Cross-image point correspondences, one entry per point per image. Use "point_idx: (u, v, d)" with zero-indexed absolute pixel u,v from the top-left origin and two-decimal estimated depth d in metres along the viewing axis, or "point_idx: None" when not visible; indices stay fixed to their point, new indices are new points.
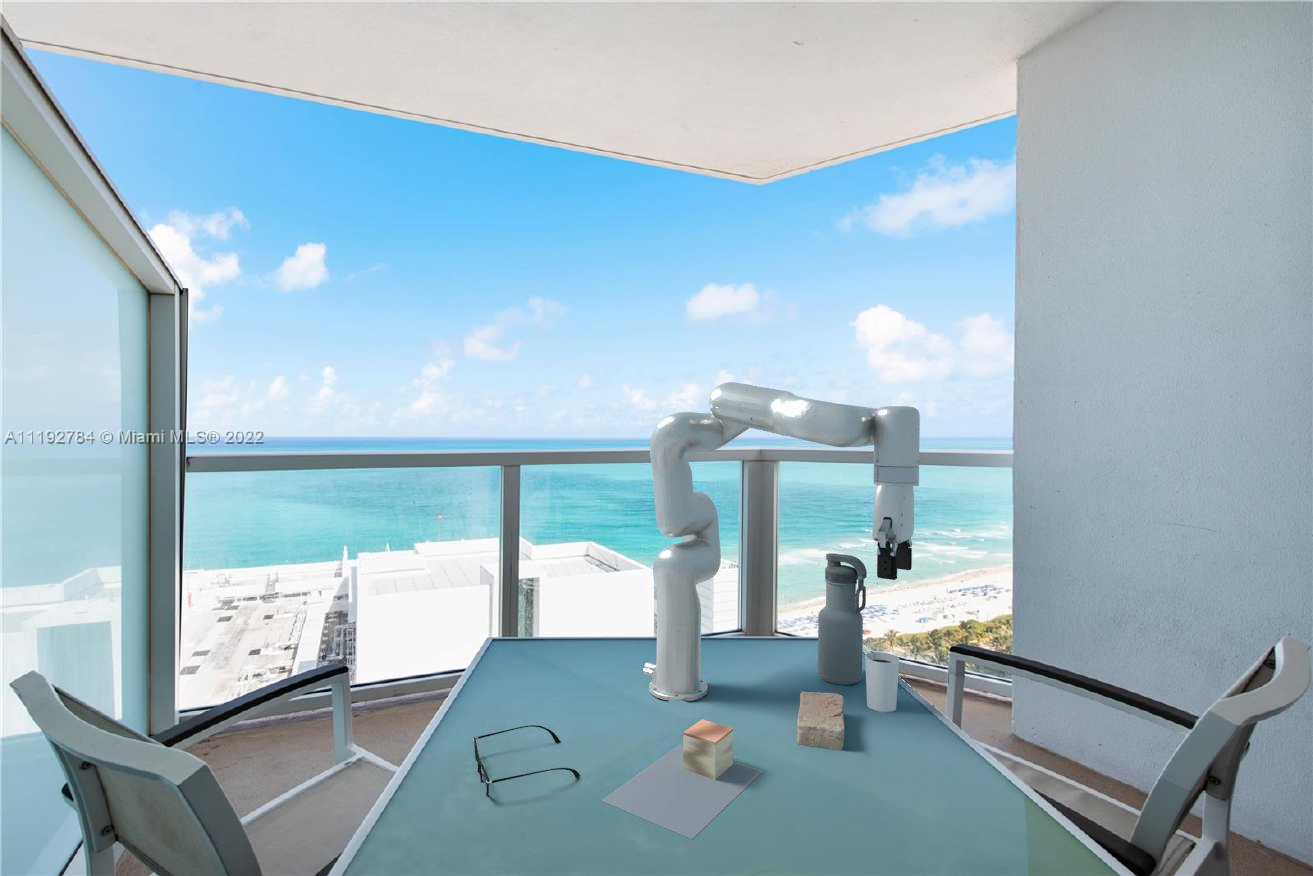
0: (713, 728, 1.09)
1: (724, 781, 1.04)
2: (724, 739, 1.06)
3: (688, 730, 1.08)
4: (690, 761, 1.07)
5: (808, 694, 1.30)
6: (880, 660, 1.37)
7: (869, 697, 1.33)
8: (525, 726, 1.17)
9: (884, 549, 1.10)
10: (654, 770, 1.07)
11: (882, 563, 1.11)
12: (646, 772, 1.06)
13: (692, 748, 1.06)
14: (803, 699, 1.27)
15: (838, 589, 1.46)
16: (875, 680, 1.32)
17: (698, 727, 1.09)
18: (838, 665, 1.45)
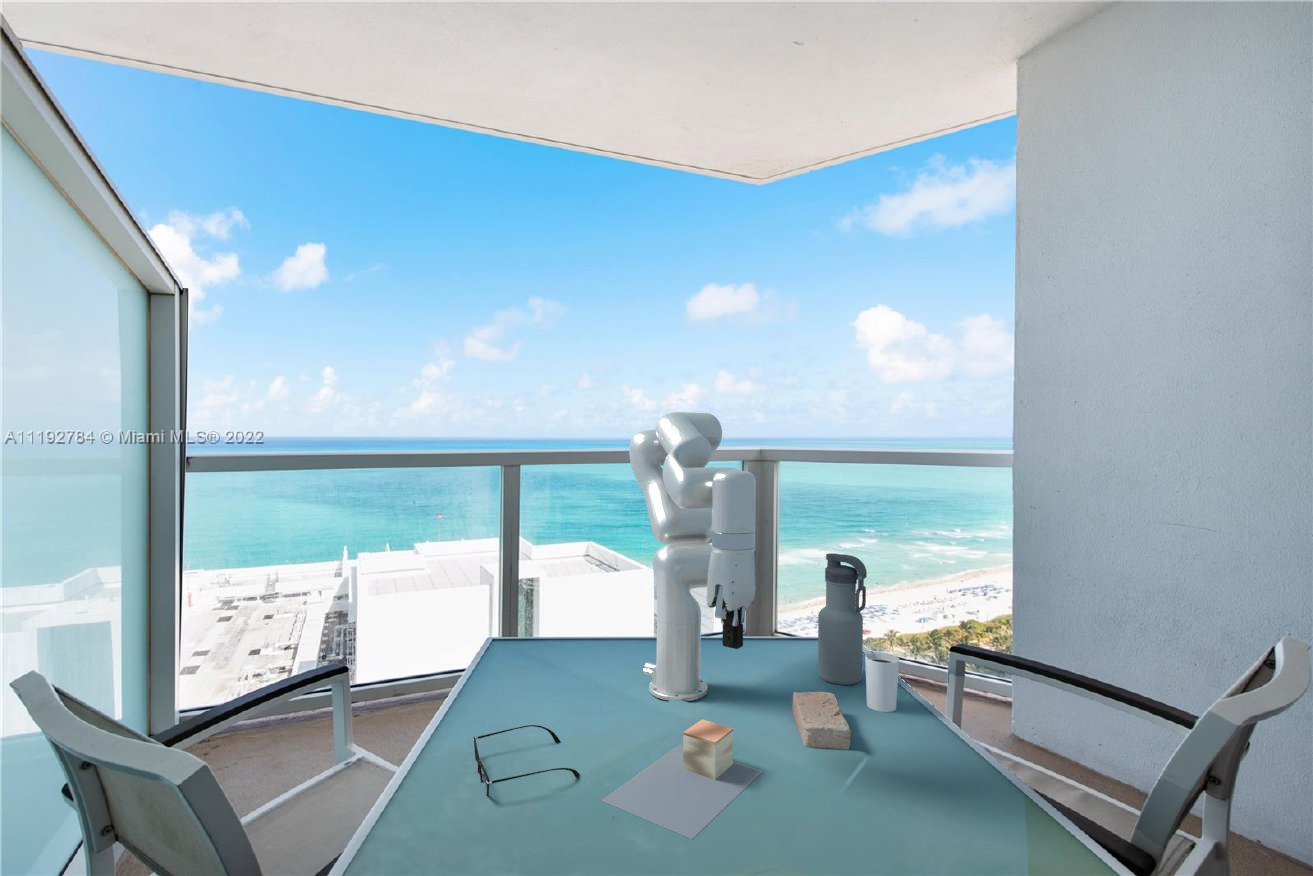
0: (713, 728, 1.09)
1: (724, 781, 1.04)
2: (724, 739, 1.06)
3: (688, 730, 1.08)
4: (690, 761, 1.07)
5: (801, 694, 1.30)
6: (880, 660, 1.37)
7: (869, 697, 1.33)
8: (525, 726, 1.16)
9: (726, 619, 1.12)
10: (654, 770, 1.07)
11: (726, 632, 1.13)
12: (646, 772, 1.06)
13: (692, 748, 1.06)
14: (799, 700, 1.27)
15: (838, 589, 1.46)
16: (875, 680, 1.32)
17: (698, 727, 1.09)
18: (838, 665, 1.45)
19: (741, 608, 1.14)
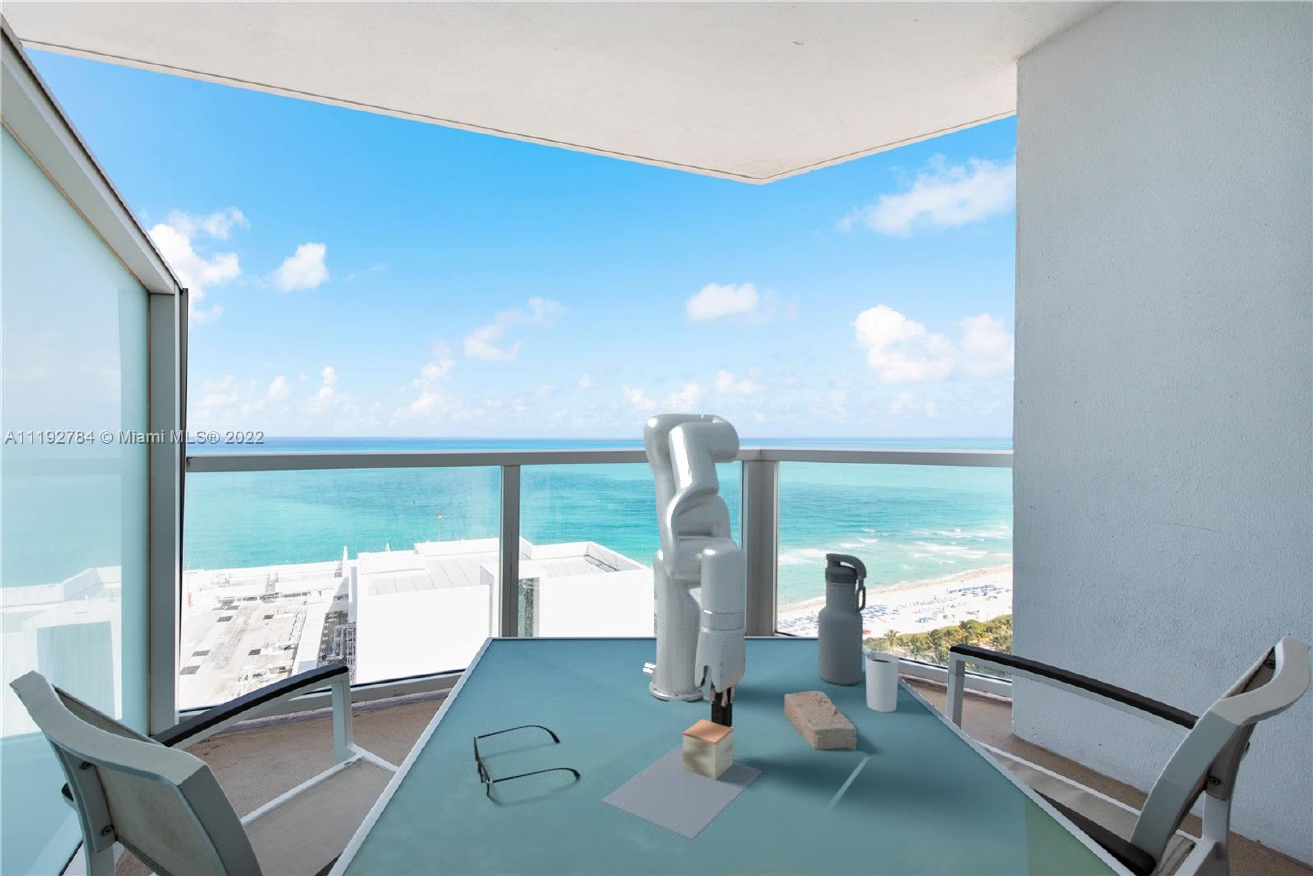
0: (713, 728, 1.09)
1: (724, 781, 1.04)
2: (724, 739, 1.06)
3: (688, 730, 1.08)
4: (690, 761, 1.07)
5: (794, 695, 1.29)
6: (880, 660, 1.37)
7: (869, 697, 1.33)
8: (525, 726, 1.16)
9: (715, 700, 1.10)
10: (654, 770, 1.07)
11: (714, 712, 1.11)
12: (646, 772, 1.06)
13: (692, 748, 1.06)
14: (795, 702, 1.26)
15: (838, 589, 1.46)
16: (875, 680, 1.32)
17: (698, 727, 1.09)
18: (838, 665, 1.45)
19: (730, 687, 1.12)
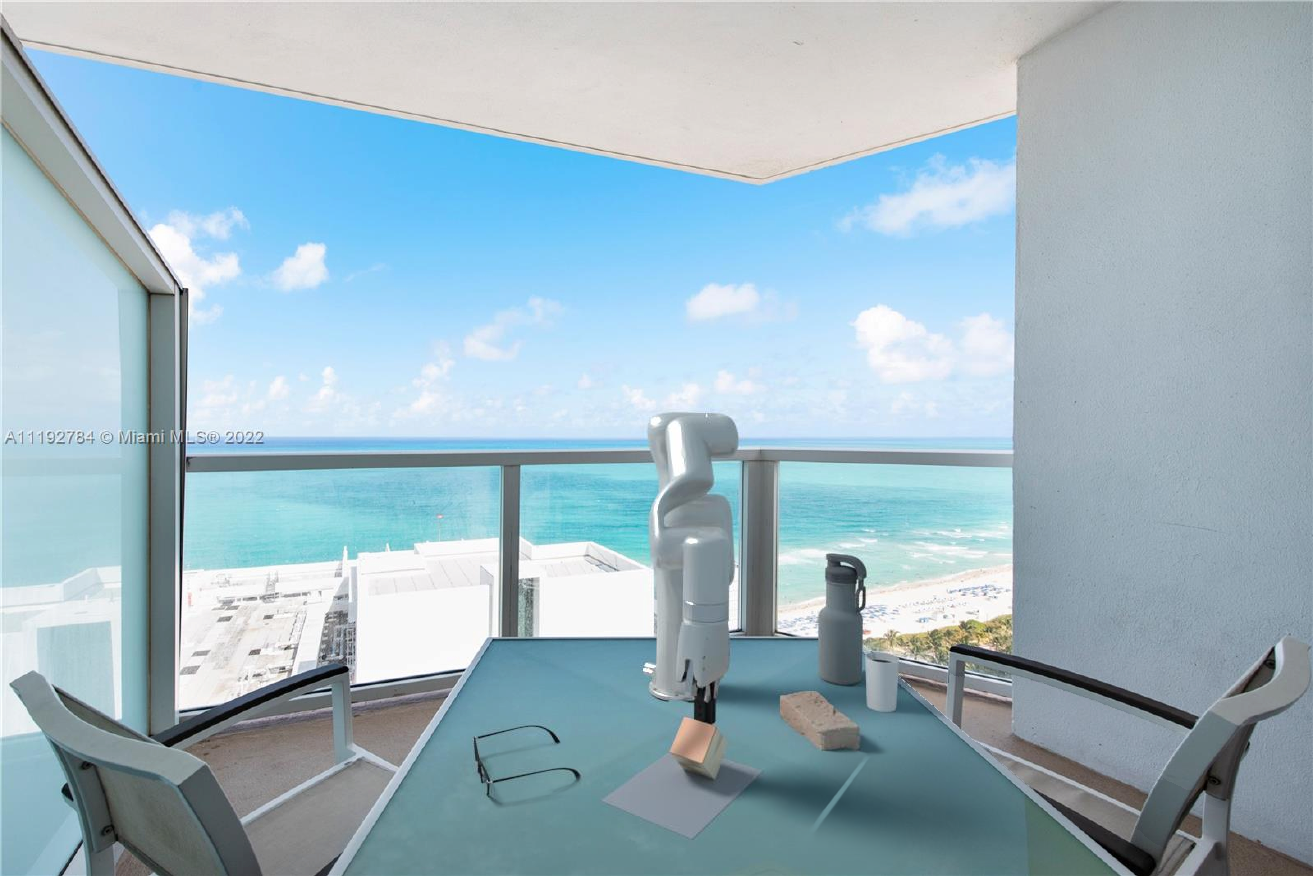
0: (697, 733, 1.04)
1: (724, 781, 1.04)
2: (710, 746, 1.03)
3: (673, 746, 1.04)
4: (686, 767, 1.06)
5: (789, 696, 1.28)
6: (880, 660, 1.37)
7: (869, 697, 1.33)
8: (525, 726, 1.16)
9: (697, 695, 1.05)
10: (654, 770, 1.07)
11: (697, 708, 1.06)
12: (646, 772, 1.06)
13: (683, 761, 1.04)
14: (793, 703, 1.25)
15: (838, 589, 1.46)
16: (875, 680, 1.32)
17: (682, 736, 1.05)
18: (838, 665, 1.45)
19: (714, 681, 1.07)
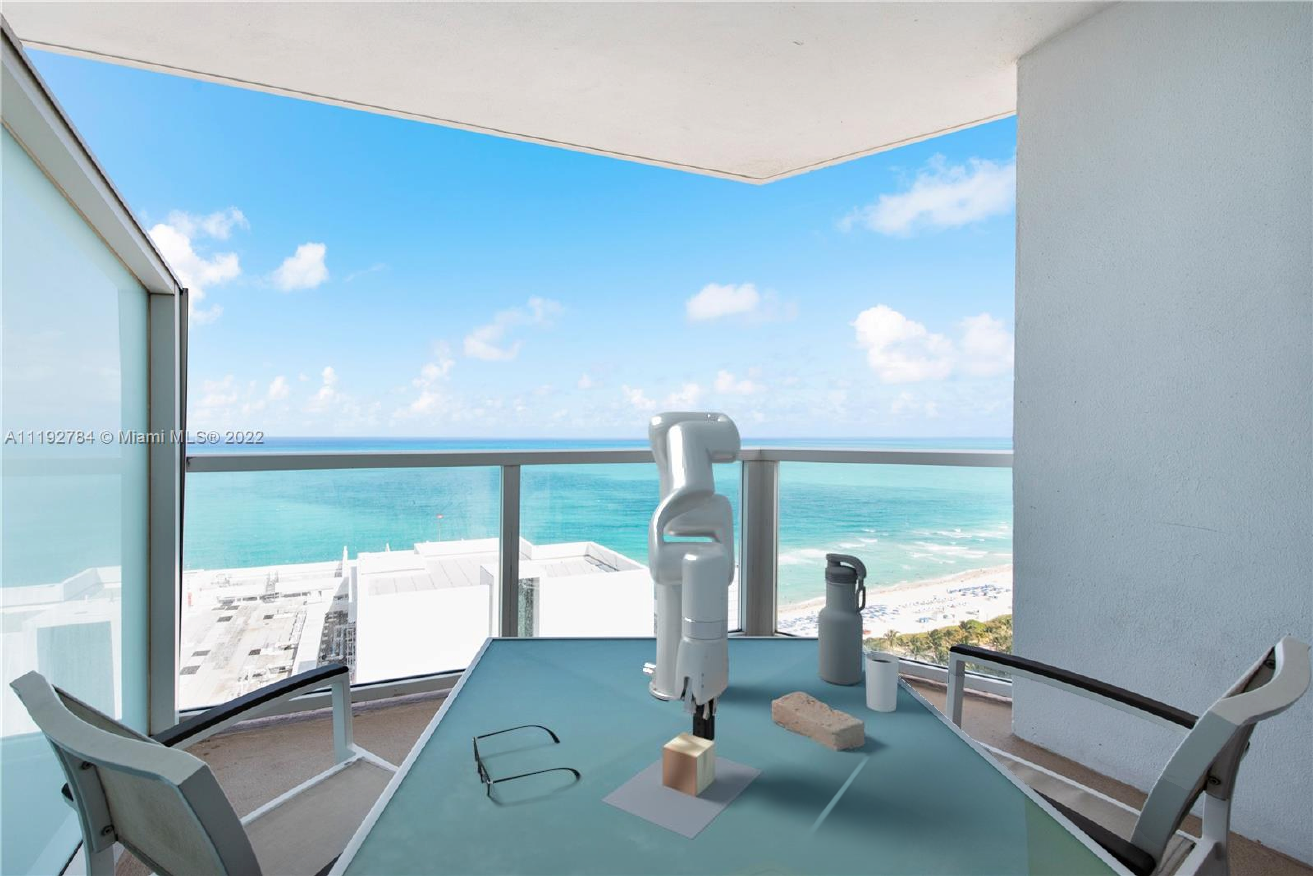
0: (681, 765, 1.00)
1: (724, 781, 1.04)
2: (697, 776, 0.99)
3: (664, 779, 1.02)
4: None
5: (782, 700, 1.27)
6: (880, 660, 1.37)
7: (869, 697, 1.33)
8: (524, 726, 1.16)
9: (696, 712, 1.05)
10: (654, 770, 1.07)
11: (696, 725, 1.06)
12: (646, 772, 1.06)
13: None
14: (790, 707, 1.24)
15: (838, 589, 1.46)
16: (875, 680, 1.32)
17: (668, 768, 1.02)
18: (838, 665, 1.45)
19: (713, 698, 1.07)
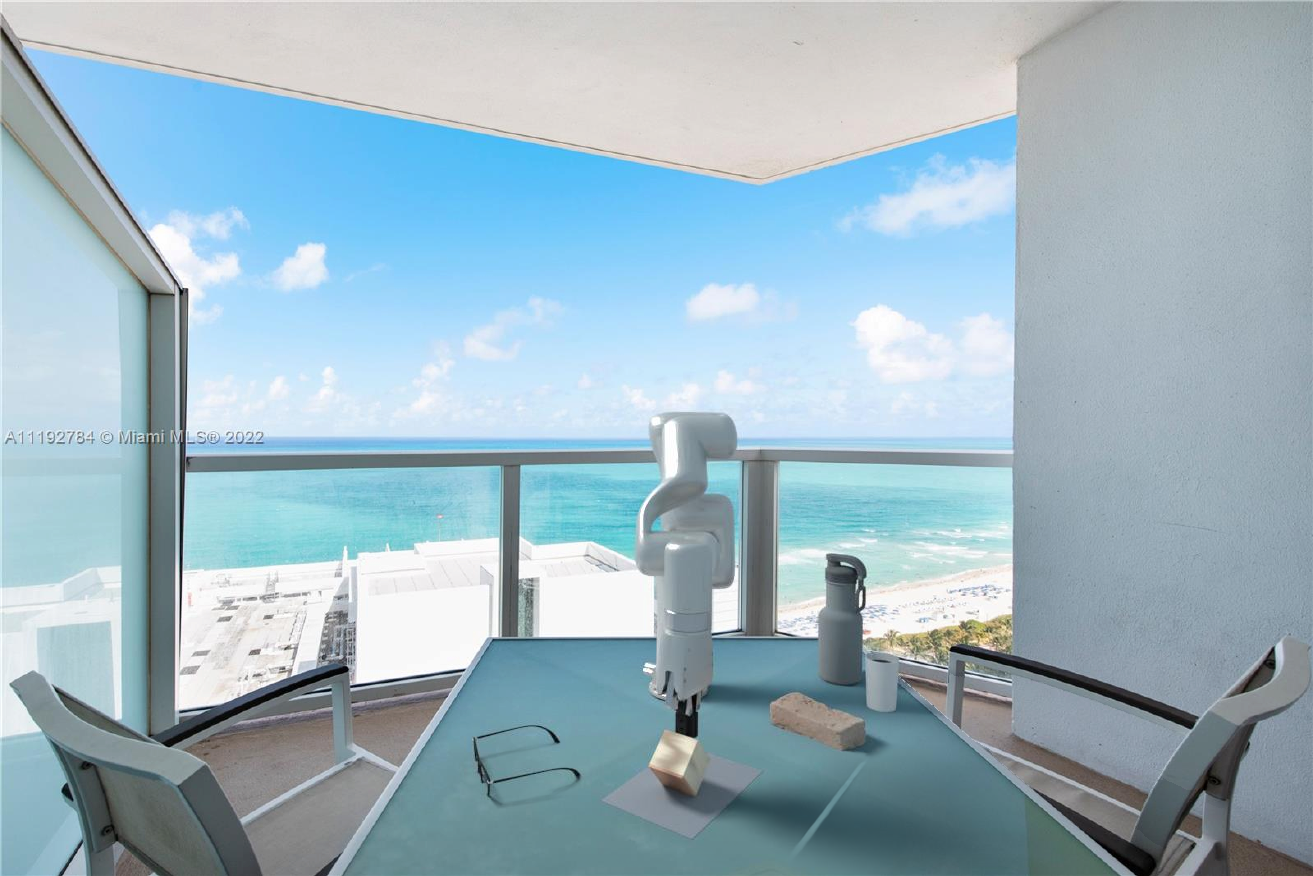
0: (671, 779, 0.98)
1: (724, 781, 1.04)
2: (690, 784, 0.98)
3: (661, 782, 1.02)
4: None
5: (780, 702, 1.26)
6: (880, 660, 1.37)
7: (869, 697, 1.33)
8: (524, 726, 1.16)
9: (678, 708, 1.00)
10: None
11: (678, 722, 1.01)
12: (646, 772, 1.06)
13: None
14: (790, 708, 1.23)
15: (838, 589, 1.46)
16: (875, 680, 1.32)
17: (661, 778, 1.00)
18: (838, 665, 1.45)
19: (696, 694, 1.02)
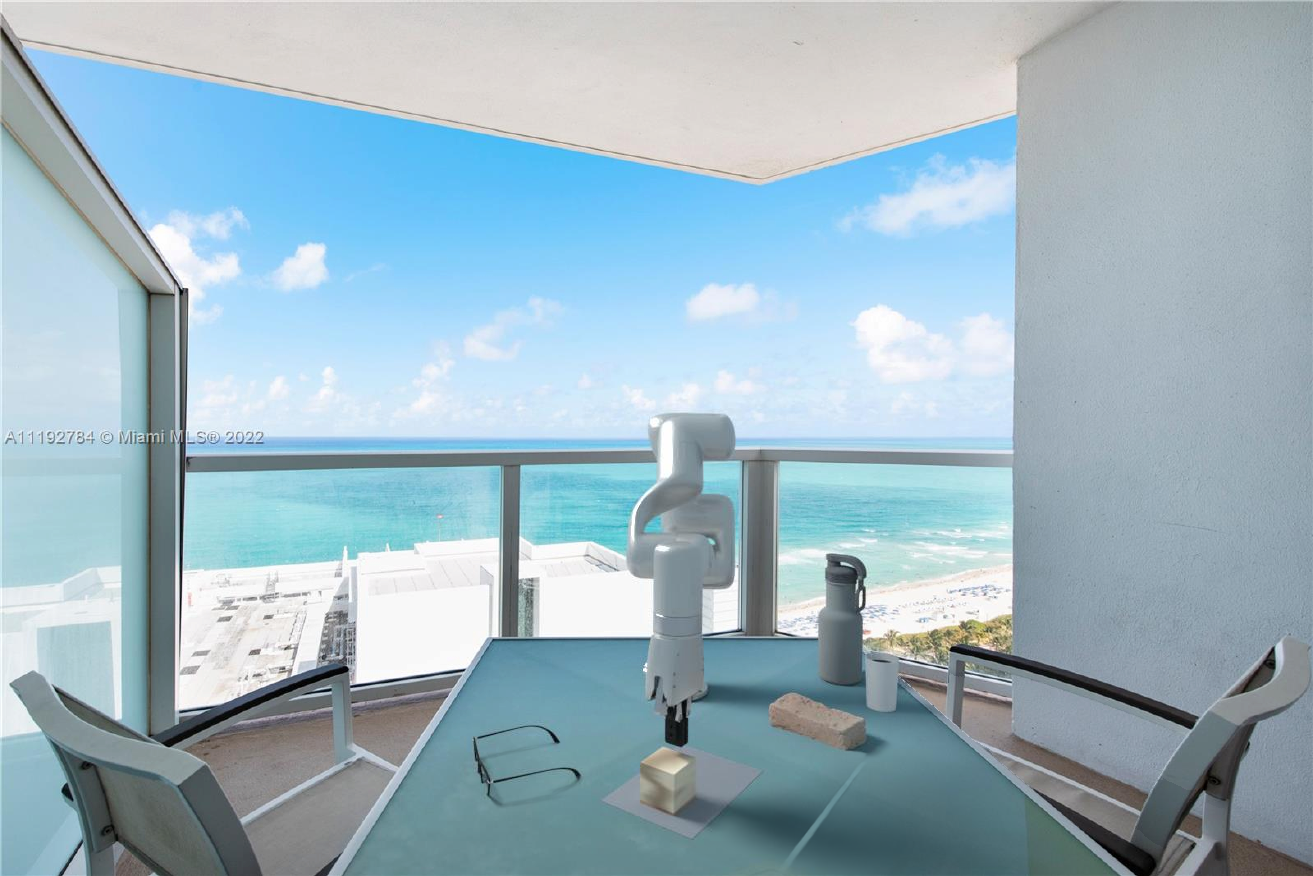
0: None
1: (724, 781, 1.04)
2: (685, 802, 0.97)
3: None
4: None
5: (779, 703, 1.25)
6: (880, 660, 1.37)
7: (869, 697, 1.33)
8: (524, 726, 1.16)
9: (668, 714, 0.98)
10: None
11: (668, 728, 0.99)
12: None
13: None
14: (790, 709, 1.23)
15: (838, 589, 1.46)
16: (875, 680, 1.32)
17: None
18: (838, 665, 1.45)
19: (686, 699, 1.00)
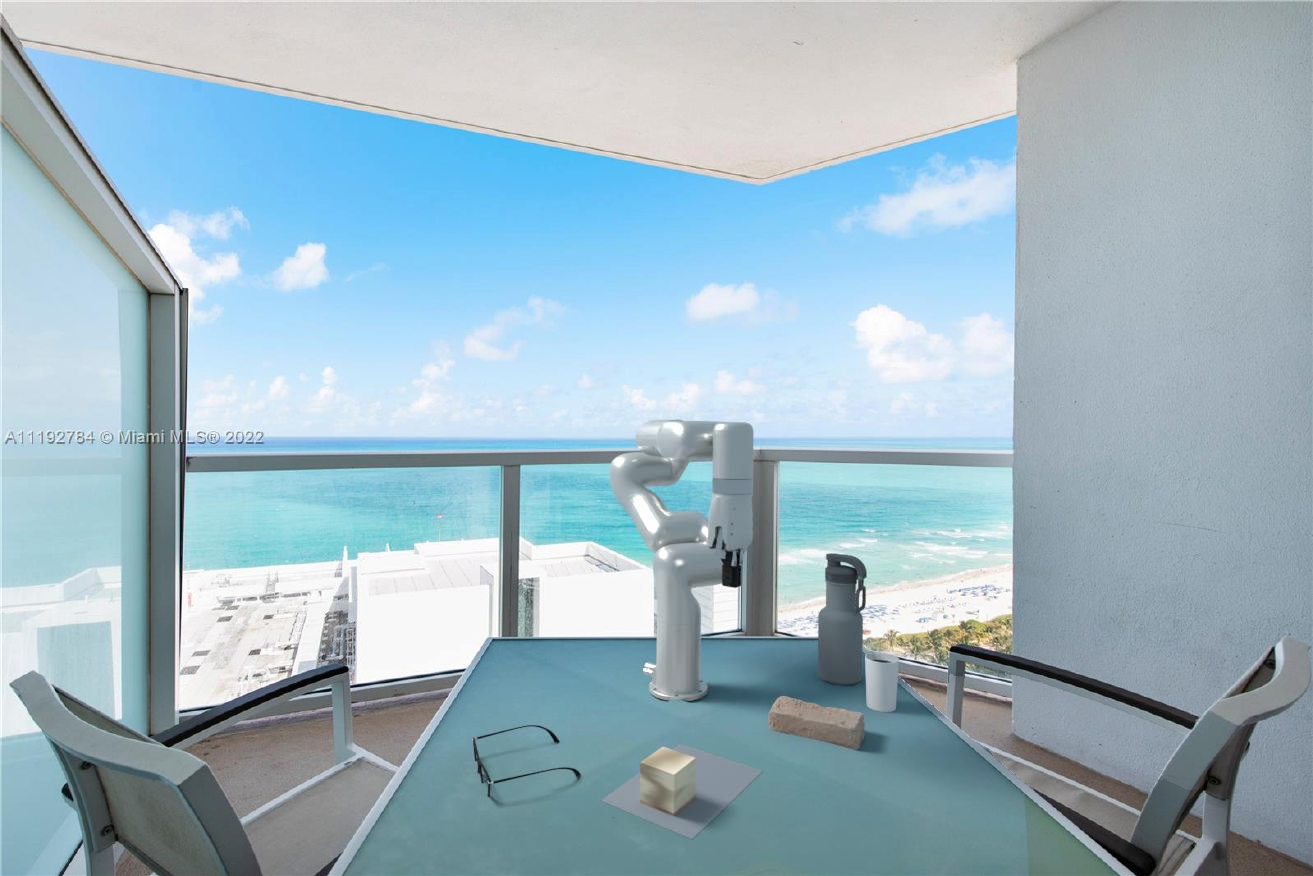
0: None
1: (724, 781, 1.04)
2: (685, 802, 0.97)
3: None
4: None
5: (778, 709, 1.23)
6: (880, 660, 1.37)
7: (869, 697, 1.33)
8: (524, 726, 1.16)
9: (725, 560, 1.20)
10: None
11: (725, 572, 1.22)
12: None
13: None
14: (792, 714, 1.21)
15: (838, 589, 1.46)
16: (875, 680, 1.32)
17: None
18: (838, 665, 1.45)
19: (739, 550, 1.23)
